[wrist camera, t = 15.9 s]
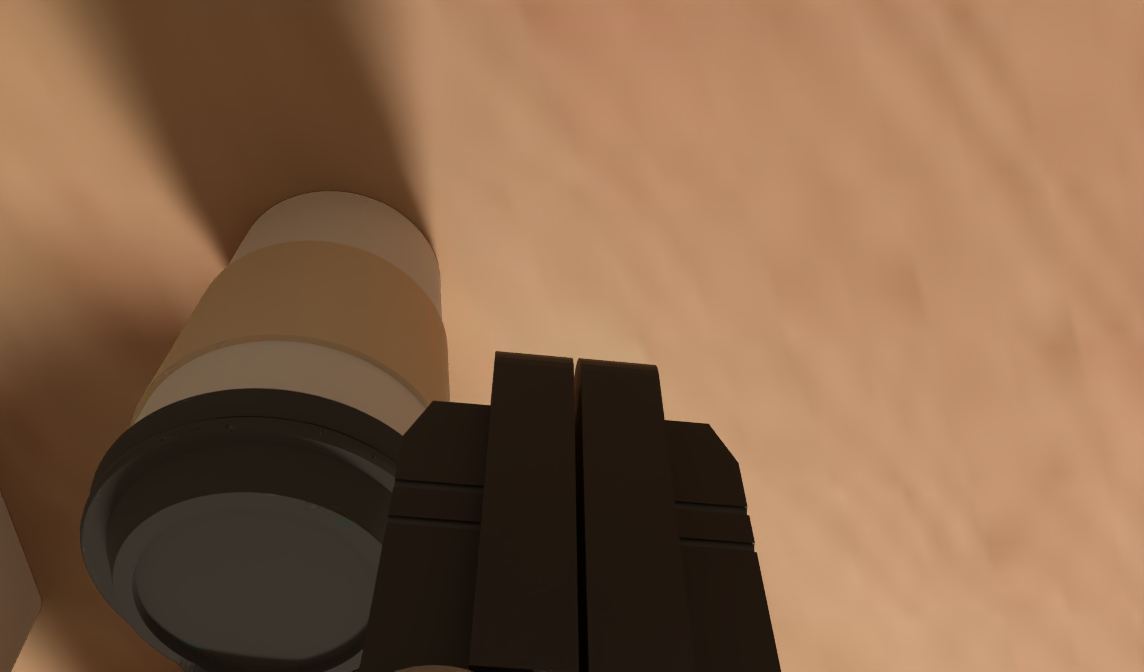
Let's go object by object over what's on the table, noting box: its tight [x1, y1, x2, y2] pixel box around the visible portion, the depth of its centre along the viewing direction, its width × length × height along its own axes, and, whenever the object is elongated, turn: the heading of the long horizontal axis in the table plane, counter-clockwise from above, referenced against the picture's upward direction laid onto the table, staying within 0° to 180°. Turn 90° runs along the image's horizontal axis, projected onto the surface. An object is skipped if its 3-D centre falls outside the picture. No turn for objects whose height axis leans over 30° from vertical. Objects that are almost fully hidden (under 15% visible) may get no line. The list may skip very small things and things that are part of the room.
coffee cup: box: [80, 191, 450, 672], centre depth 32 cm, size 9×9×15 cm
